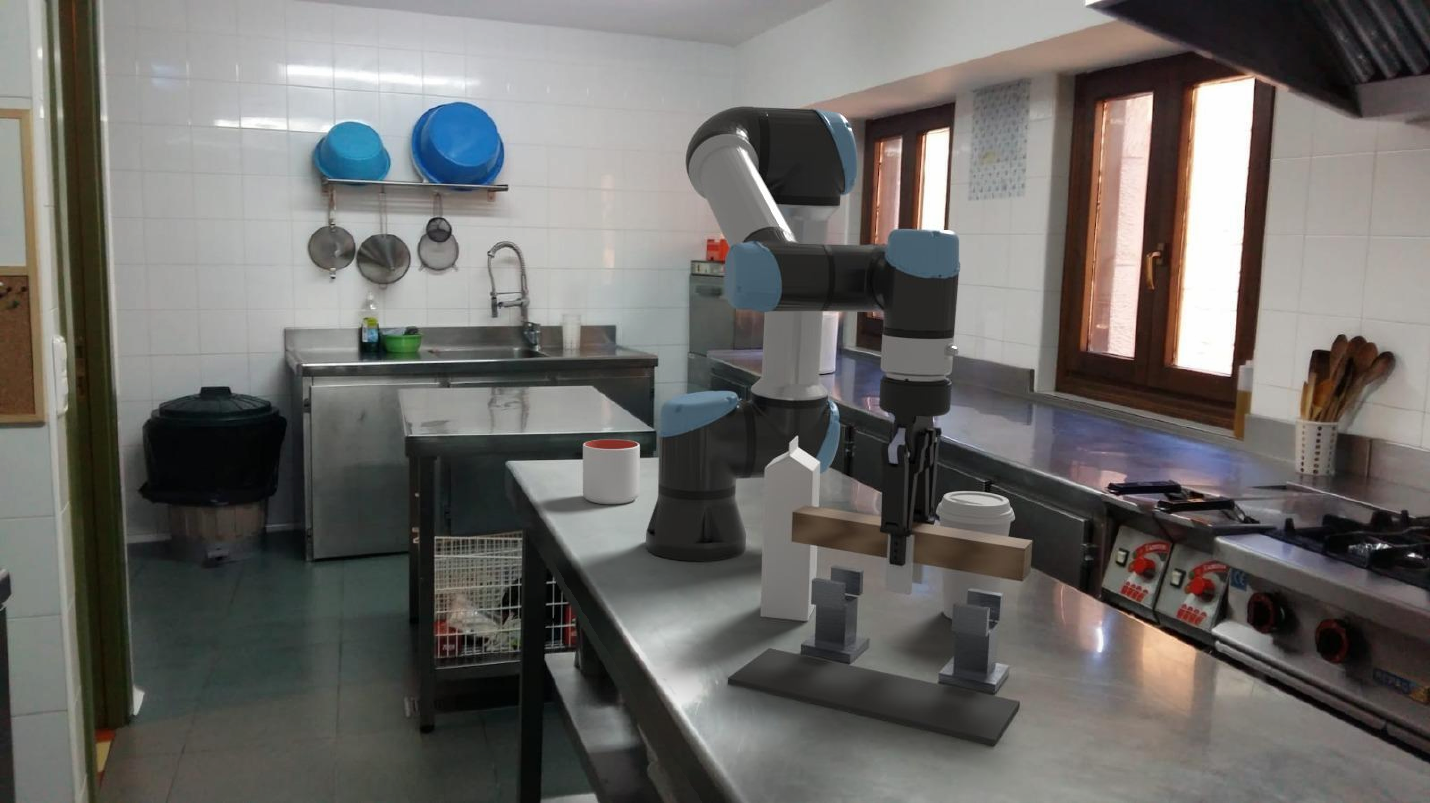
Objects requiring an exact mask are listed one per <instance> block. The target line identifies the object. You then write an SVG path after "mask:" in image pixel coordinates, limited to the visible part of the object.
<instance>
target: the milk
mask: <svg viewBox="0 0 1430 803" xmlns="http://www.w3.org/2000/svg"><path fill="white" fill-rule="evenodd" d="M820 478H821V474H820V462H819V461H818V460H817V459H815V458H814V457H812V456H811V455H809V454H808V453H806V452H805V451H803V450H802V449H800V448H799V447H798V436H796V437H795V438H794V439H793V440H792V441H791V442H790V443H789V451H788V452H786V453H784V454H782V455H780V456H778V457H776V458H775V459H773V460H772V461H771V462H770V463H769V464H768V465H767V466H766V467H765V474H764V478H763V480H764V481H763V482H764V483H763V484H764V486H763V511H762V512H763V513H762V514H763V516H762V519H763V520H762V547H761V549H762V552H761V554H762V555H761V582H760V584H761V585H760V586H761V589H760V594H761V595H760V617H763V618H771V619H781V620H789V621H790V620H791V621H799V622H800V621H801V622H808V621H809V619H810V618H811V615H812V613H813V611H814V609H815V608H816V605H813V604H811V590H812V579H814V578H817V572H818V571H817V567H818V566H817V565H818V546H814V545H808V544H802V543H797V542H791V540H792V513H793V511H795V510H797V509H799V508H800V507H802V506H804V505H808V506H814V507H820V484H821V481H820V480H821V479H820Z"/></svg>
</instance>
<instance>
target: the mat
mask: <svg viewBox="0 0 1430 803" xmlns="http://www.w3.org/2000/svg"><path fill="white" fill-rule="evenodd" d="M727 684H729V685H732V686H737V687H742V688H746V689H749V690H753V691H754V690H755V691H759V692H764V693H767V694H771V695H775V696H780V697H784V698H788V699H793V700H796V701H797V700H798V701H801V702H806V703H808V704H809V703H810V704H815V705H818V706H822V707H828V708H831V709H834V710H840V711H845V712H847V713H853V714H857V715H861V716H865V717H868V718H869V717H870V718H875V719H879V720H882V721H887V722H890V723H891V722H892V723H896V724H900V725H904V726H909V727H913V728H917V729H921V730H924V731H925V730H926V731H929V732H935V733H938V734H942V735H947V736H951V737H954V738H955V737H956V738H960V739H962V740H963V739H964V740H969V741H971V742H972V741H973V742H977V743H980V744H985V745H989V746H993V747H994V746H995V747H996V744H997V743H998V741H999V740H1000V738H1001V736H1002V735H1003V733H1004V732H1005V730H1006V729H1007V727H1008V726H1009V724H1010V723H1011V722H1012V719H1013V718H1014V716H1015V715H1016V713H1017V712H1018V710H1019V709H1020V704H1021V702H1020V701H1019V700H1016V699H1010V698H1006V697H1002V696H997V695H992V694H987V693H984V692H983V693H982V692H978V691H974V690H973V691H972V690H969V689H964V688H961V687H959V688H958V687H953V686H951V685H950V686H949V685H945V684H940V683H937V682H930V681H925V680H922V679H917V678H912V677H907V676H902V675H898V674H893V673H888V672H883V671H879V670H874V669H869V668H864V667H860V666H855V665H851V664H845V663H841V662H837V661H832V660H827V659H822V658H817V657H815V656H808V655H803V654H798V653H794V652H789V651H785V650H780V649H776V648H770V647H768V648H767V649H765V650H764V651H763V652H761V653H760V654H759V655H757V656H756V657H755V658H753V659H752V660H750V661H749V662H748V663H747V664H745V665H743V666H742V667H741V668H740V669H738V670H737V671H735V672H734V673H733V674H731V675H730V676H729V677H727Z"/></svg>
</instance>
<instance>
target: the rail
mask: <svg viewBox="0 0 1430 803" xmlns="http://www.w3.org/2000/svg"><path fill="white" fill-rule="evenodd" d="M880 527H881V516H879V515H878V516H877V515H869V514H864V513H858V512H853V511H852V512H851V511H845V510H839V509H833V508H827V507H826V508H825V507H820V506H819V507H814V506H808V505H804V506H802V507H800V508H799V509H797V510H795V511H793V513H792V540H791V542H797V543H802V544H808V545H814V546H817V547H821V548H826V549H827V548H828V549H833V550H839V551H843V552H844V551H845V552H848V553H849V552H850V553H856V554H861V555H867V556H872V557H879V558H884V559H887V547H888V534H887V533H881V532H880ZM911 534H912V535H915V537H914V555H913V563H918V564H924V566H930V567H934V568H935V567H936V568H941V569H942V568H947V569H952V570H958V571H964V572H970V573H976V574H981V575H987V576H993V577H999V578H1002V579H1006V580H1012V581H1017V582H1024V581H1025V579H1026V578H1027V577H1028V575H1029V574H1030V573H1031V567H1032V565H1031V564H1032V553H1033V552H1032V551H1033V542H1034V541H1033V540H1032V539H1024V538H1017V537H1012V536H1008V537H1007V536H1001V535H994V534H988V533H981V532H975V531H969V530H962V529H956V528H949V527H943V526H940V525H935V524H934V525H930V524H923V523H917V522H912V533H911Z"/></svg>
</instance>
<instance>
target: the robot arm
mask: <svg viewBox="0 0 1430 803" xmlns="http://www.w3.org/2000/svg"><path fill="white" fill-rule="evenodd" d="M851 127H852V126H851V125H850V123H849V121H848V120H847V119H846V118H845V116H844V115H842V114H840V113H838V112H836V111H828V110H822V109H816V108H810V109H807V108H789V107H788V108H785V107H784V108H782V107H758V106H757V107H756V106H743V105H742V106H735V107H731V108H728V109H725V110H721V111H720V112H717V113H716V114H715V115H712V116H711V117H709V118H708V119H707V120H706V121H704V122H703V123H702V124H701V125H700V126H699V127H698V128H697V129H696V131H695V133H694V134H693V135H692V137H691V139H690V141H689V143H688V145H687V150H686V154H685V169H686V174H687V176H688V179H689V181H690V183H691V186H692V187H693V190H695V191H696V192H697V194H699V196H701V197H702V198H703V199H705V200H707V202H708V205H709V207H710V209H711V212H712V213H713V215H714V218H715V220H716V222H717V224H718V226H719V228H720V229H719V230H720V231H721V233H722V235H723V238H724V239H725V242H726V244H727V246H728V248H729V249H728V251H727V253H726V255H725V260H724V261H725V262H724V269H723V284H724V289H725V297H726V300H727V303H728V304H729V305H730V306H731V307H732V308H734V309H735V310H739V311H753V312H758V313H760V314H761V313H764V323H763V345H762V363H761V365H762V366H761V376H760V378H759V379H758V381H756V382H755V383H754V384H753V385H752V386H751V387H750V399H749V400H744V401H743V400H740V398H739V396H738V394H737V393H736V392H734V391H730V390H716V391H715V390H707V391H698V392H693V393H691V392H690V393H686V394H682V395H677V396H674V397H671V398H670V399H668V400H666V401H665V402H664V403H663V404H662V405H661V408H660V411H659V421H658V430H657V435H658V470H657V471H658V474H657V476H658V484H657V485H658V487H657V488H658V490H657V499H656V502H655V504H654V507H653V511H652V514H651V517H650V519H649V523H648V525H647V529H646V533H645V548H646V550H647V551H648V552H650V553H651V554H653V555H656V556H657V557H658V556H660V557H663V558H666V559H672V560H679V561H688V562H689V561H692V562H693V561H695V562H698V561H699V562H700V561H701V562H703V561H704V562H705V561H718V560H725V559H729V558H733V557H736V556H739V555H741V554H742V553H744V552H745V551H746V549H747V534H746V533H747V532H746V530H745V526H744V522H743V519H742V516H741V512H740V509H739V506H738V502H737V498H736V496H737V495H736V494H737V492H736V491H737V490H736V488H737V485H736V484H737V480H738V479H739V480H740V479H764V474H765V467H766V466H767V465H768V464H769V463H770V462H771V461H772V460H773V459H775V458H776V457H778V456H780V455H782V454H784V453H786V452H788V451H789V443H790V442H791V441H792V440H793V439H794V438H795V437H796V436H798V447H799V448H800V449H802V450H803V451H805V452H806V453H808V454H809V455H811V456H812V457H814V458H815V459H817V460H818V461H819V462H820V475H822V474H824V473H825V472H826V471H827V470H828V469H829V467H831V465H832V463H833V461H834V459H835V456H836V453H837V451H838V446H839V442H840V435H841V434H840V433H841V423H840V412H839V409H838V408H839V407H838V406H837V404H836V403H835V402H834V401H833V400H831V399H829V391H828V389H827V388H826V387H825V386H824V385H823V383H821V380H820V366H821V353H822V352H821V348H822V336H823V334H822V331H823V318H824V317H823V315H824V312H842V313H843V312H844V313H846V312H847V313H848V312H850V313H855V312H856V313H861V312H862V313H863V312H864V313H867V312H868V313H883V324H882V335H881V336H882V337H881V352H880V370H881V371H882V372H884V373H885V375H884V374H883V375H882V378H880V379H879V399H878V400H879V401H878V405H879V408H880V410H881V411H883V412H885V413H888V414H890V413H891V415H893V417H894V420H893V426H892V429H891V430H890V432H889V438H888V439H889V442H883V443H882V444H881V447H880V452H881V461H882V476H881V477H882V478H881V479H882V482H881V485H882V486H881V509H880V510H881V511H880V512H881V513H880V514H881V515H880V517H881V527H880V532H881V533H887V534H888V547H887V558H886V568H885V570H886V571H885V590H884V591H885V592H886V591H887V592H890V593H897V594H902V595H906V596H907V595H908V596H910V595H912V590H913V584H917V585H923V584H924V579H925V565H924V564H918V563H913V555H914V537H915V535H912V534H911V533H912V522H917V523H923V524H930V525H935V522H936V517H934V516H930V515H933V514H934V512H935V500H936V487H937V476H938V475H937V474H938V459H939V447H940V444H941V443H940V442H941V437H942V433H943V431H942V427H938V426H934V425H935V424H934V423H935V422H934V417H941V416H945V415H947V414H948V413H949V412H950V411H951V401H952V400H951V399H952V386H953V385H952V381H951V380H950V378H948V377H947V376H949V375H950V374H951V373H952V372H953V361H954V357H957V356H958V354H959V348H958V347H956V346H954V343H955V342H954V341H955V330H956V329H955V328H956V315H957V304H958V303H957V302H958V290H959V289H958V288H959V278H960V277H959V276H960V274H959V273H960V271H961V262H960V239H959V236H958V234H957V233H956V232H954V231H952V230H947V229H915V228H914V229H913V228H912V229H911V228H896V229H892V230H891V231H890V232H889V234H888V237H887V244H885V243H882V244H874V243H871V244H865V245H864V244H828V234H829V220H830V219H831V217H832V215H834V214H835V213H836V212H838V210H839V209H840V208H841V196H845V195H847V194H850V193H851V192H852V190H854V187H855V184H856V183H855V180H856V178H857V176H858V175H857V174H858V152H857V151H858V150H857V146H856V145H857V143H856V139H855V135H854V132H853V130H852V128H851Z"/></svg>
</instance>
